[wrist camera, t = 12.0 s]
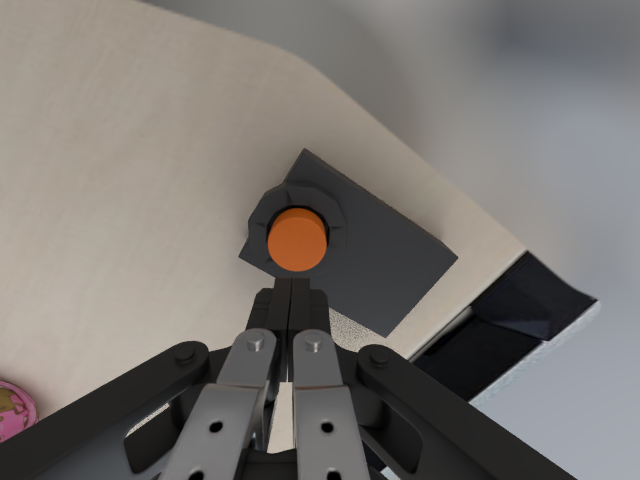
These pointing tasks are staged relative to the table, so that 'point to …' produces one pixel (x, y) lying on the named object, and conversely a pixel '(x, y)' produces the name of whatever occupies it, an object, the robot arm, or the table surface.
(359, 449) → the robot arm
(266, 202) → the grey push button box
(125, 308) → the table surface
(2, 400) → the pencil case
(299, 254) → the button
